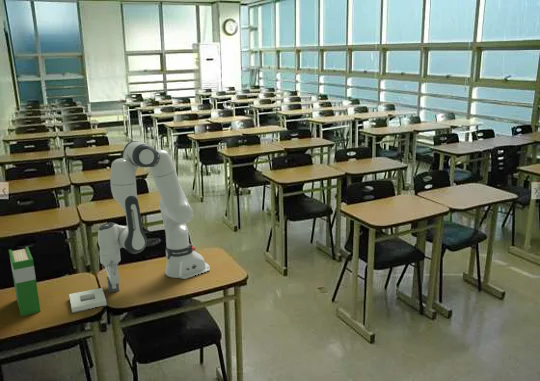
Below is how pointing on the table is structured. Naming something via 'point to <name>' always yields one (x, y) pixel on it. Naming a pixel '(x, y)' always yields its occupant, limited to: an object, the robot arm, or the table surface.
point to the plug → (111, 286)
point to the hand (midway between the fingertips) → (113, 285)
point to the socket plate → (87, 300)
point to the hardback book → (24, 281)
